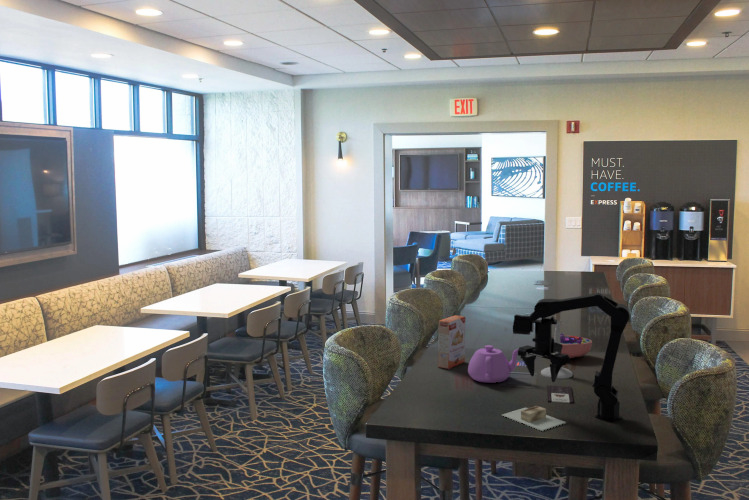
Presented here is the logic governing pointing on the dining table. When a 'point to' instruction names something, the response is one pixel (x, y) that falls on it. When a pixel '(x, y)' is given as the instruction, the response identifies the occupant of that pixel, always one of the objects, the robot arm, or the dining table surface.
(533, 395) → the dining table surface
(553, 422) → the sage mat
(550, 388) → the chocolate bar
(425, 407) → the dining table surface
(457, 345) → the cracker box
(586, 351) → the cell model
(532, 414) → the grooved tan block
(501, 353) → the teapot
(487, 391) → the dining table surface
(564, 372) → the candlestick
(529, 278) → the dining table surface
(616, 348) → the robot arm
